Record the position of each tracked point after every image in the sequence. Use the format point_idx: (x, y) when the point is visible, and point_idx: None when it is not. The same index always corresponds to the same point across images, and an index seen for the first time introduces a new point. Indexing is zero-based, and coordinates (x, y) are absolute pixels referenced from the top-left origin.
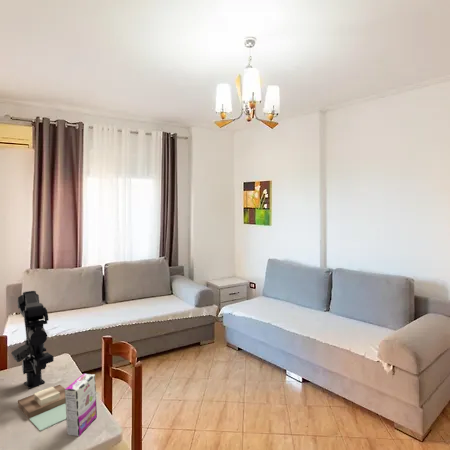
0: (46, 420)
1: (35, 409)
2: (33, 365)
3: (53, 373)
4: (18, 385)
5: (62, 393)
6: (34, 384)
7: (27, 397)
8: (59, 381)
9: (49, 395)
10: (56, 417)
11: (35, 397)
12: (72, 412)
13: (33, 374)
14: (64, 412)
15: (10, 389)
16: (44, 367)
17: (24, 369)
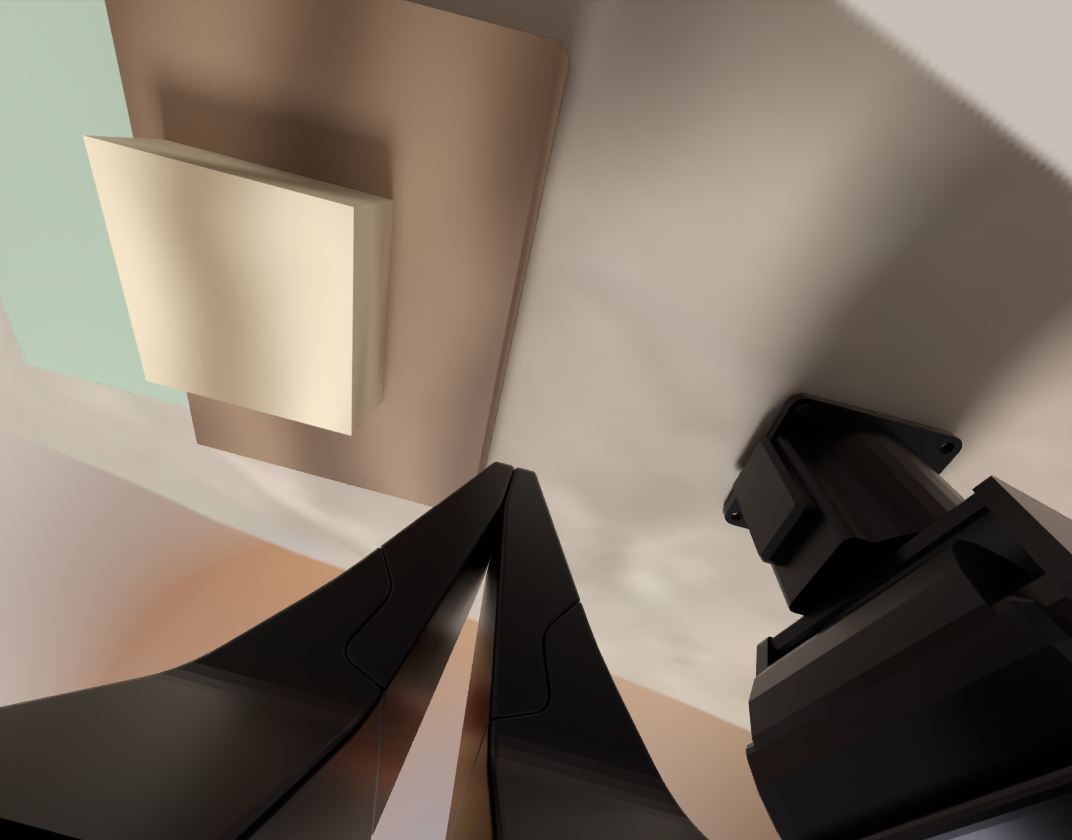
0: (10, 58)
1: (132, 44)
2: (492, 631)
3: (786, 627)
4: (1003, 389)
5: (286, 424)
6: (766, 446)
7: (514, 186)
8: (618, 563)
9: (153, 283)
10: (18, 159)
11: (313, 189)
12: None
13: (828, 528)
14: (73, 259)
15: (1051, 287)
16: (762, 660)
17: (1025, 539)
